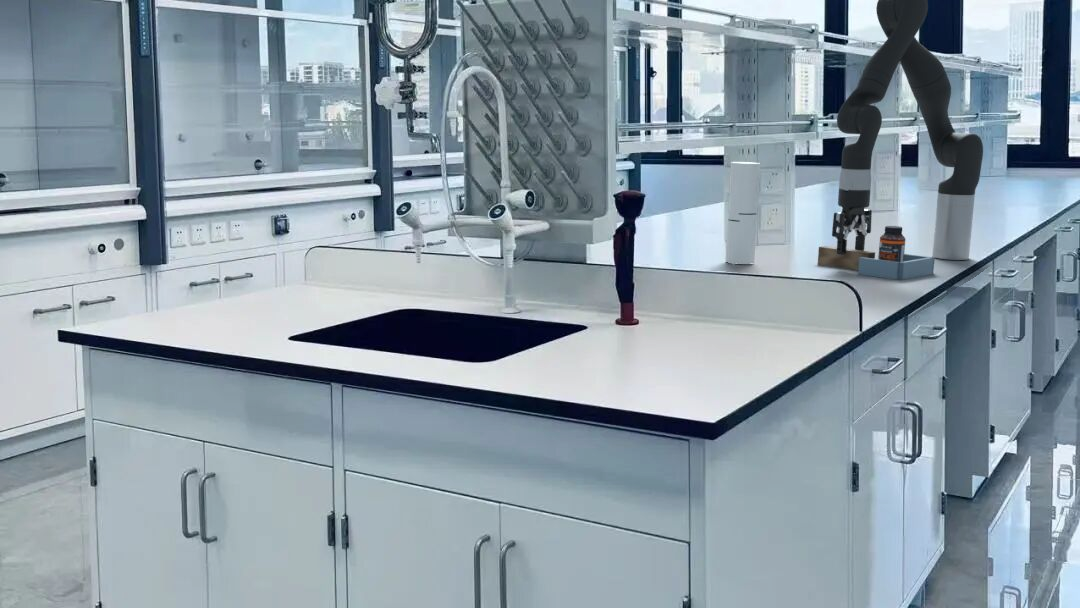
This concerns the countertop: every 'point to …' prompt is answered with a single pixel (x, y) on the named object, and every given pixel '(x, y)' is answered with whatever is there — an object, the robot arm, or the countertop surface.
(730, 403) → the countertop surface
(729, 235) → the cylindrical container
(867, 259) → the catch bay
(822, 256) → the scraper
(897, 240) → the supplement bottle
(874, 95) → the robot arm
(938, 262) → the countertop surface
